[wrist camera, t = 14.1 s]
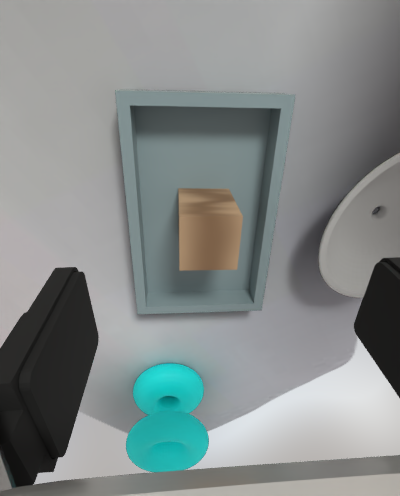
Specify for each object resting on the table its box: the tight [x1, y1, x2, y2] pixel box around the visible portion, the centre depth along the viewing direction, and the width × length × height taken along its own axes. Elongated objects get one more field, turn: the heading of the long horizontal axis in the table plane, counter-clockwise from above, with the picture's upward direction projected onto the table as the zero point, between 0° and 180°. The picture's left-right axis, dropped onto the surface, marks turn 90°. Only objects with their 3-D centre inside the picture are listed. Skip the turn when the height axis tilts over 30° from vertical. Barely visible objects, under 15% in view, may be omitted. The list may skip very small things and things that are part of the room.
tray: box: [115, 89, 295, 314], centre depth 30 cm, size 14×22×3 cm, turn 179°
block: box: [178, 188, 243, 271], centre depth 28 cm, size 5×5×7 cm
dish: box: [318, 153, 400, 298], centre depth 31 cm, size 18×14×5 cm
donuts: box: [126, 363, 209, 472], centre depth 40 cm, size 10×10×10 cm
